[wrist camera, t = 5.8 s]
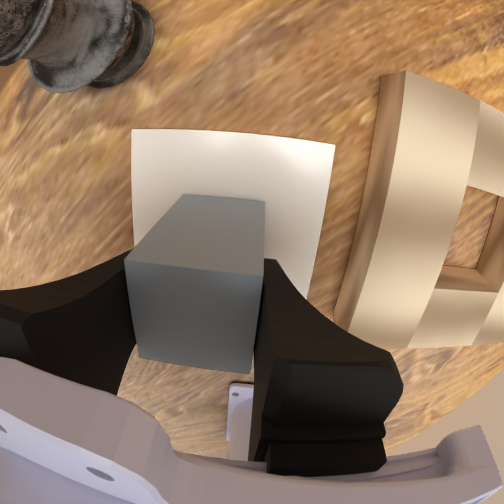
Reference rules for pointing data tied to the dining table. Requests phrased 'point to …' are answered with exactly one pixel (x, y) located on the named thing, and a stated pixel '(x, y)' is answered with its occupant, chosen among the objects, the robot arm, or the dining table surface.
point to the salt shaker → (76, 40)
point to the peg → (199, 283)
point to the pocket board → (425, 222)
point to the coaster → (238, 185)
